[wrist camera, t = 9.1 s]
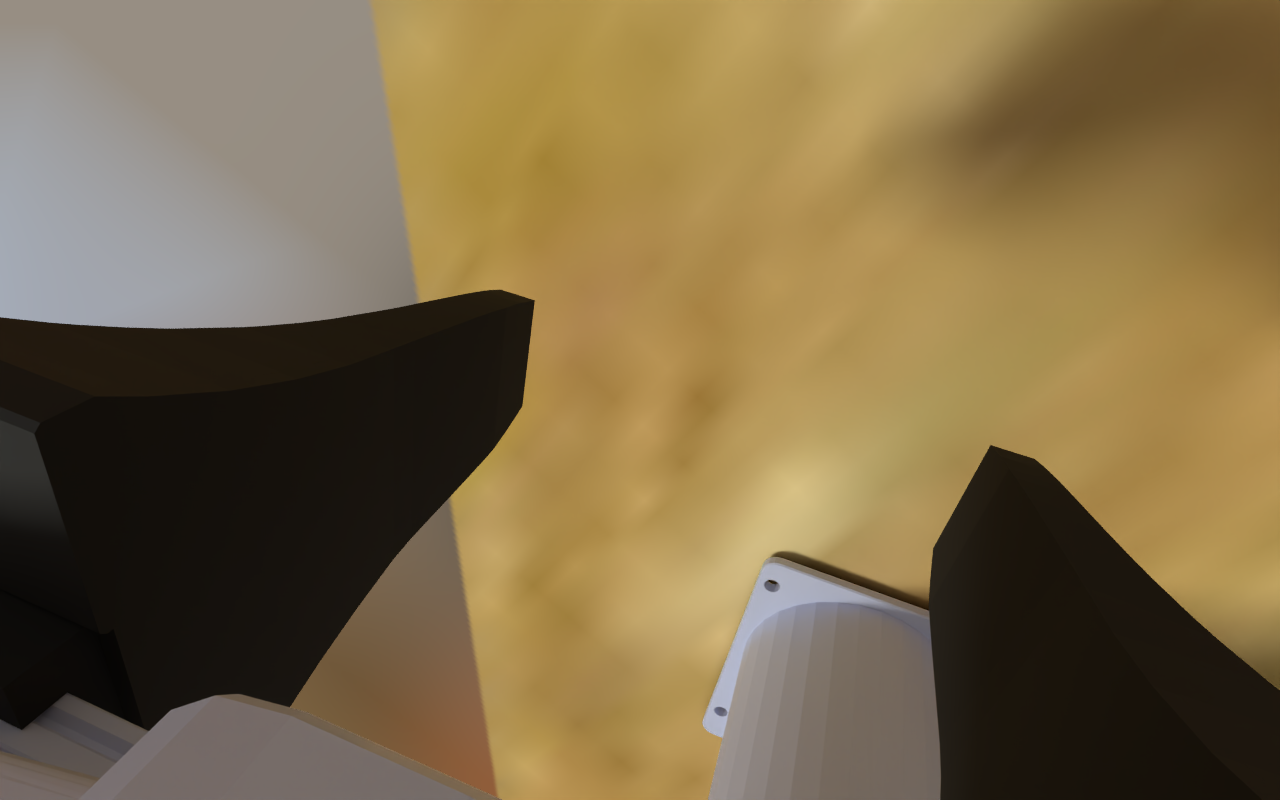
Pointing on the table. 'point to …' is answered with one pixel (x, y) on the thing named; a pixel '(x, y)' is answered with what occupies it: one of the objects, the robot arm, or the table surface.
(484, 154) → the table surface
